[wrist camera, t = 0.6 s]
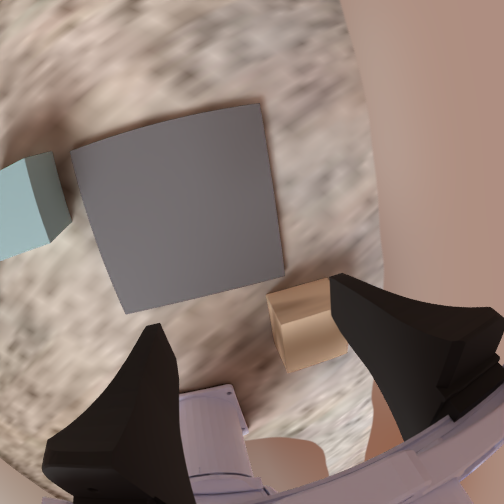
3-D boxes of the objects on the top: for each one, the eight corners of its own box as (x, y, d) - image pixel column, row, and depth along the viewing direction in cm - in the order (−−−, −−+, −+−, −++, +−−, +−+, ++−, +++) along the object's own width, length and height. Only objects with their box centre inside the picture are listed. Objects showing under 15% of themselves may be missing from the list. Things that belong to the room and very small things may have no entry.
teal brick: (72, 221, 17) (50, 243, 14) (20, 240, 17) (-6, 263, 13) (52, 150, 15) (24, 158, 11) (0, 176, 14) (-31, 188, 11)
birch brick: (327, 324, 25) (347, 353, 22) (273, 341, 25) (287, 373, 21) (325, 276, 23) (349, 303, 20) (265, 293, 23) (280, 324, 19)
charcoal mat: (283, 272, 22) (285, 275, 22) (126, 310, 20) (125, 314, 20) (257, 103, 17) (259, 103, 16) (72, 150, 15) (69, 151, 15)
